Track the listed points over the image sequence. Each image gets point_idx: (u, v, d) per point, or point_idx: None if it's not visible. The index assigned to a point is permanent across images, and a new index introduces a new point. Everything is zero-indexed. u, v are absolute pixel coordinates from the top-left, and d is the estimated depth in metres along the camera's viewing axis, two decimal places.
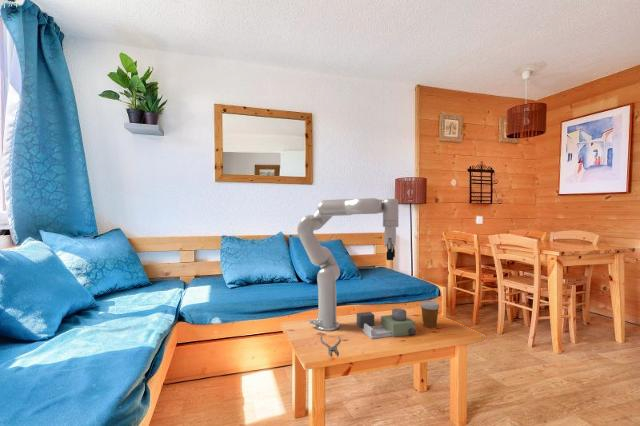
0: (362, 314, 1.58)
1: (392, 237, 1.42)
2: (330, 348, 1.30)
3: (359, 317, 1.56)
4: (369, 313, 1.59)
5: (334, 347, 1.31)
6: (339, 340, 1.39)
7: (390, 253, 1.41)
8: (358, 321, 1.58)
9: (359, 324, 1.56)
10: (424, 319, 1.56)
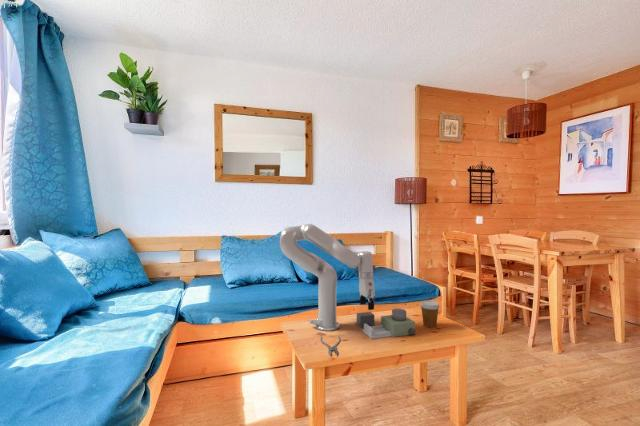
0: (362, 314, 1.58)
1: None
2: (330, 348, 1.30)
3: (359, 317, 1.56)
4: (369, 313, 1.59)
5: (334, 347, 1.31)
6: (339, 340, 1.39)
7: None
8: (358, 321, 1.58)
9: (359, 324, 1.56)
10: (424, 319, 1.56)
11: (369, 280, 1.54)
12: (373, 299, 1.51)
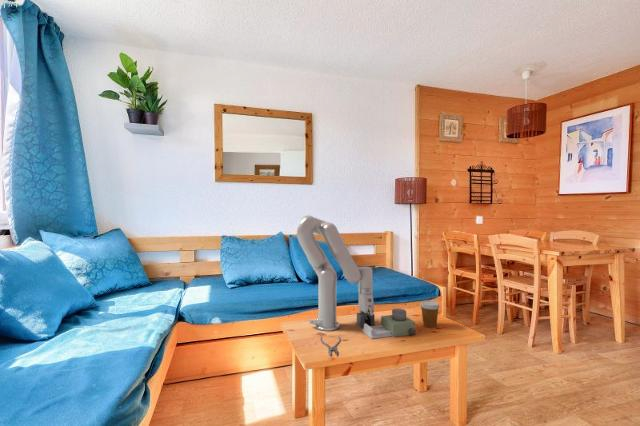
0: (362, 314, 1.58)
1: None
2: (330, 348, 1.30)
3: (359, 317, 1.56)
4: None
5: (334, 347, 1.31)
6: (339, 340, 1.39)
7: None
8: (358, 321, 1.58)
9: (359, 324, 1.56)
10: (424, 319, 1.56)
11: (368, 296, 1.54)
12: (370, 317, 1.53)
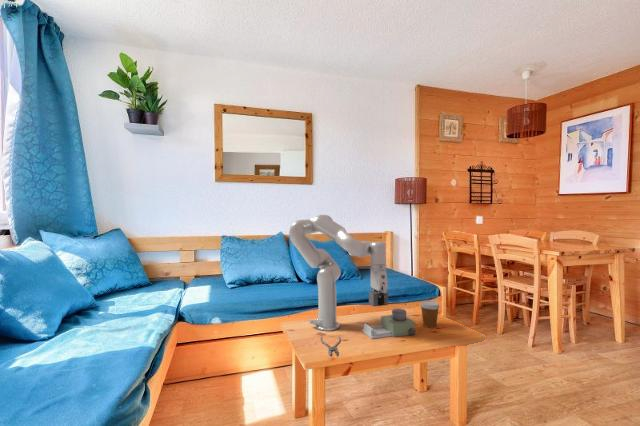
0: (375, 292, 1.46)
1: None
2: (330, 348, 1.30)
3: (372, 295, 1.45)
4: None
5: (334, 347, 1.31)
6: (339, 340, 1.39)
7: None
8: (371, 300, 1.47)
9: (372, 303, 1.45)
10: (424, 319, 1.56)
11: (382, 272, 1.43)
12: (384, 294, 1.42)
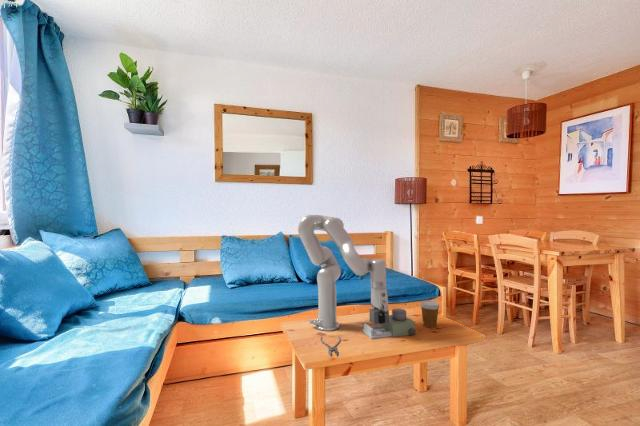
0: (375, 310, 1.46)
1: None
2: (330, 348, 1.30)
3: (372, 313, 1.45)
4: None
5: (334, 347, 1.31)
6: (339, 340, 1.39)
7: None
8: (371, 317, 1.46)
9: (373, 321, 1.45)
10: (424, 319, 1.56)
11: (382, 290, 1.43)
12: (384, 313, 1.42)
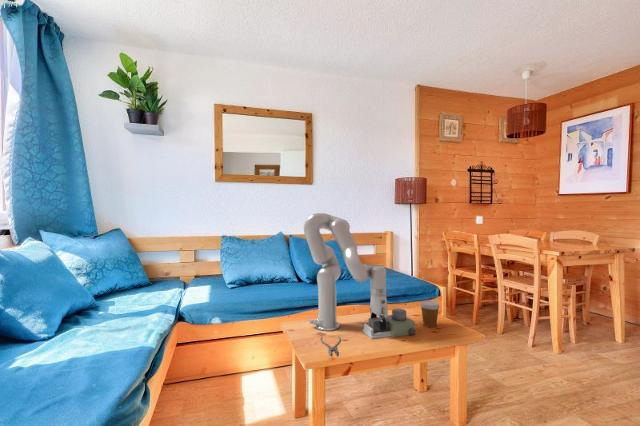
0: (375, 320, 1.47)
1: None
2: (330, 348, 1.30)
3: (372, 322, 1.45)
4: None
5: (334, 347, 1.31)
6: (339, 340, 1.39)
7: None
8: None
9: None
10: (424, 319, 1.56)
11: (382, 297, 1.43)
12: (386, 318, 1.40)
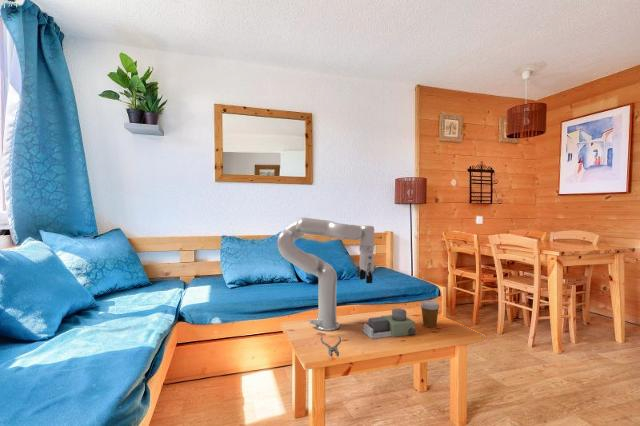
0: (375, 320, 1.47)
1: None
2: (330, 348, 1.30)
3: (372, 322, 1.45)
4: (382, 318, 1.49)
5: (334, 347, 1.31)
6: (339, 340, 1.39)
7: None
8: None
9: None
10: (424, 319, 1.56)
11: (369, 253, 1.54)
12: (371, 272, 1.51)
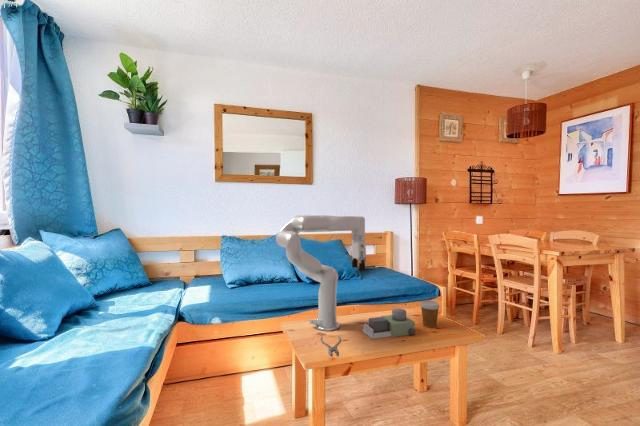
0: (375, 320, 1.47)
1: None
2: (330, 348, 1.30)
3: (372, 322, 1.45)
4: (382, 318, 1.49)
5: (334, 347, 1.31)
6: (339, 340, 1.39)
7: None
8: None
9: None
10: (424, 319, 1.56)
11: (361, 242, 1.63)
12: (364, 260, 1.60)
